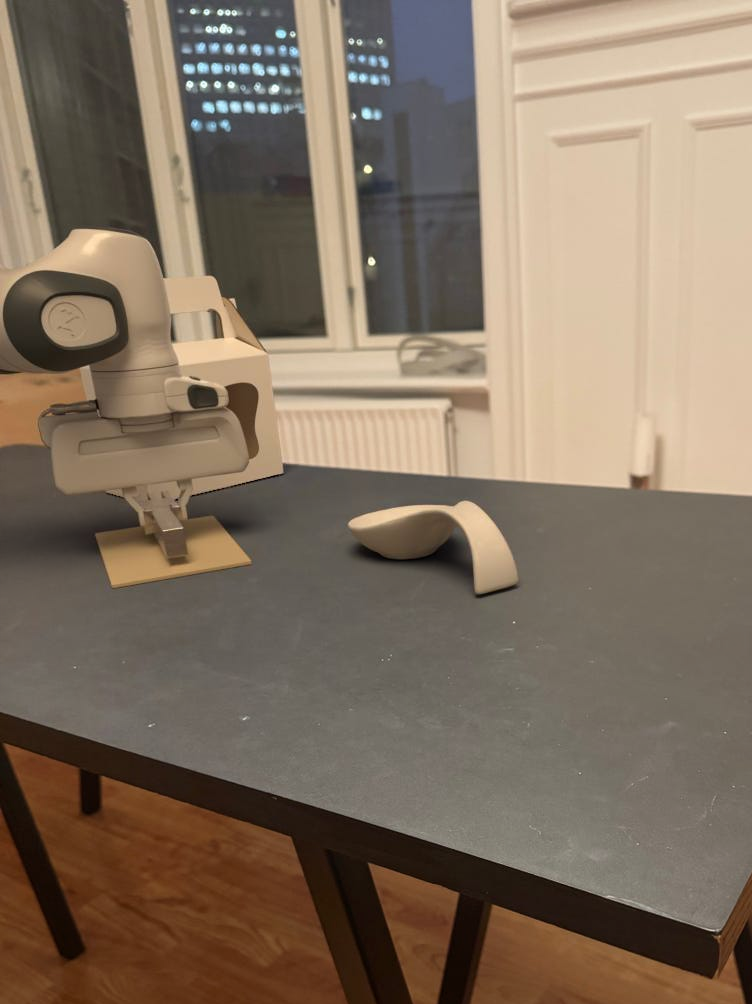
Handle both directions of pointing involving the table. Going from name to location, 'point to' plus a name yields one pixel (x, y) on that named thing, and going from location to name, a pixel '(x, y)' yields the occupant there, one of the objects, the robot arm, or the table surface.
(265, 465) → the gable box
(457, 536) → the table surface
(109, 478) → the robot arm
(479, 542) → the spoon rest
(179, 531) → the fork
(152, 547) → the place mat
